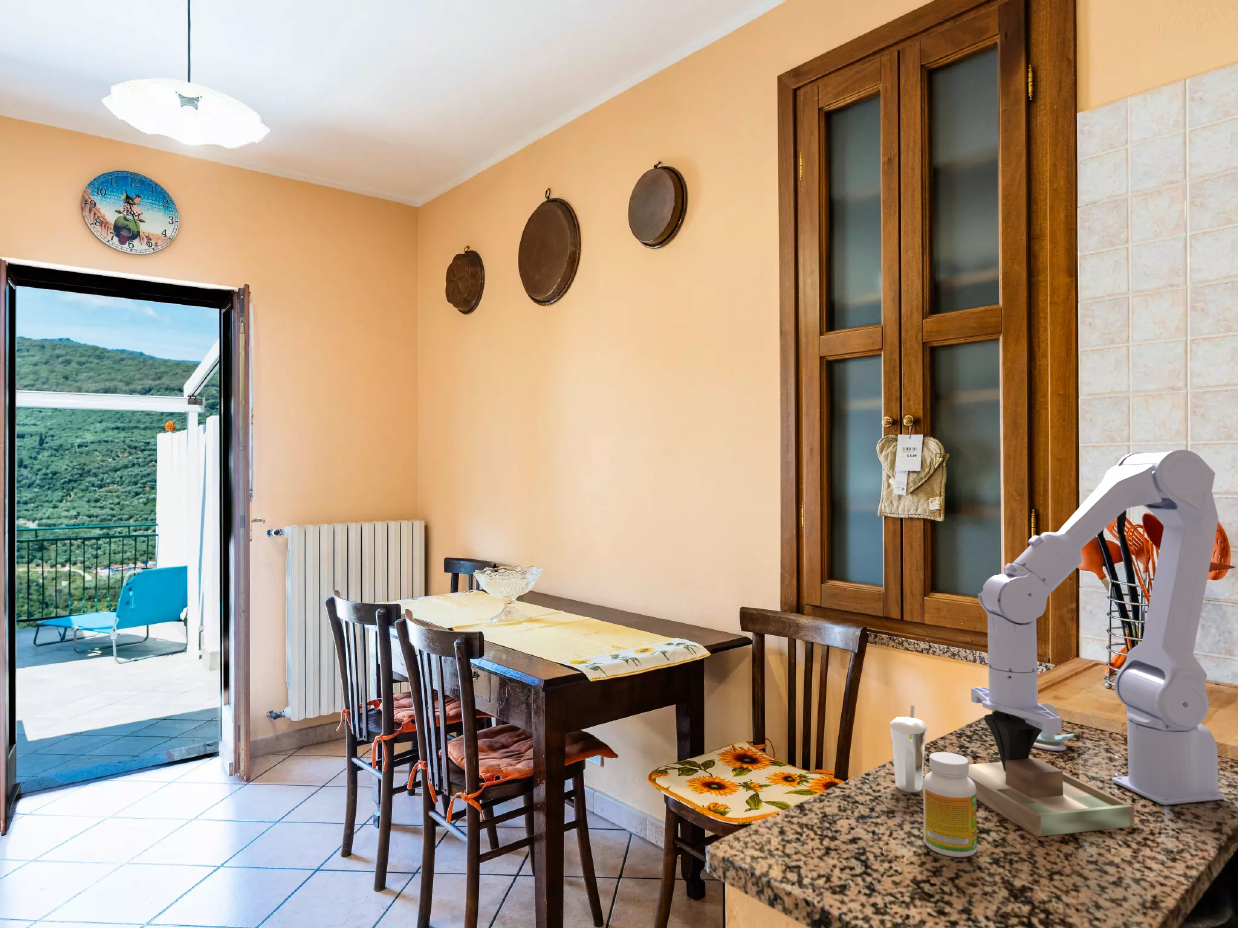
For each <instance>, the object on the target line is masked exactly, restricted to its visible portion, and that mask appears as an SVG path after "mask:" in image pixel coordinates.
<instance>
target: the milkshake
mask: <svg viewBox="0 0 1238 928" xmlns="http://www.w3.org/2000/svg"><path fill="white" fill-rule="evenodd" d="M909 714H910V716H896V717H894V718H893V720H891V721H890V722H889V727H890V737H891V747H892V757H893V759H892V760H893V770H894V782H895V784H894V785H895V787H896V788H897V789H899V790H901V791H903V792H907V793H918V792H921V791H923V781H924V767H925V764H924V763H925V751H926V740H927V730H928V726H927V724H926V723H925V722H924V721H923V720H922V719H919V718H916V717H915V705H911V704H910V713H909Z"/></svg>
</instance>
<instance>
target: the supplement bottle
mask: <svg viewBox="0 0 1238 928" xmlns="http://www.w3.org/2000/svg"><path fill="white" fill-rule="evenodd" d="M928 765H929V769H930V772H928V773H927V774H925V775H924V776H923V786H922V791H923V793H922V796H923V807H922V808H923V840H924V843H925V845H926V846H927V847H928V848H929V849H930V850H932V851H934V852H936V853H938V854H941V855H943V856H948V857H954V858H965V857H966V858H967V857H970V856H973V855H974V854H976V852H977V850H978V833H977V832H978V827H977V826H978V825H977V823H978V822H977V818H978V817H977V799H976V786H975V784H974V782H973V781H972V780H971V779H970V778H969V777H967V775H968V774H969V765H970V764H969V759H968V758H967V757H965V756H963V755H960V754H958V753H955V752H947V751H937V752H933V753H930V754H929V763H928Z"/></svg>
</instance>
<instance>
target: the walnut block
mask: <svg viewBox="0 0 1238 928" xmlns="http://www.w3.org/2000/svg"><path fill="white" fill-rule="evenodd" d="M1005 768H1006V785H1008V786H1010V787H1012V788H1013V789H1015V790H1017V791H1019V792H1020V793H1022V794H1024V795H1026V796H1028V797H1029V798H1041V797H1052V796H1063V772H1064V771H1063V770H1061V769H1060V768H1058V767H1055V766H1053V765H1051V764H1049V763H1047V762H1045V761H1043V760H1041V759H1039V758H1037V757H1033V758H1031V759H1019V760H1006V761H1005Z"/></svg>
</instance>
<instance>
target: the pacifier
mask: <svg viewBox="0 0 1238 928" xmlns="http://www.w3.org/2000/svg"><path fill="white" fill-rule="evenodd" d="M1039 704H1040V705H1042V706H1043V707H1044V708H1046V709H1047V710H1048V711H1050V712H1051V713H1053V714H1054V715H1056V716H1058V717H1059V713H1058V710H1057V708H1056V707H1055V705H1054V704H1053V703H1050V702H1042V703H1039ZM1073 737H1075V733H1068V734H1067V733H1066V734H1045V733H1043V732H1041V733H1040V734H1039V736H1038V737H1037V739H1036V741H1035V743H1034V745H1033V747H1034V748H1037V749H1041V750H1046V751H1054V752H1062V751H1065V750H1066V749H1067V746H1066V745H1064V743H1062V742H1064V741H1067V740H1070V739H1072V738H1073ZM1033 747H1032V748H1033Z"/></svg>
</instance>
